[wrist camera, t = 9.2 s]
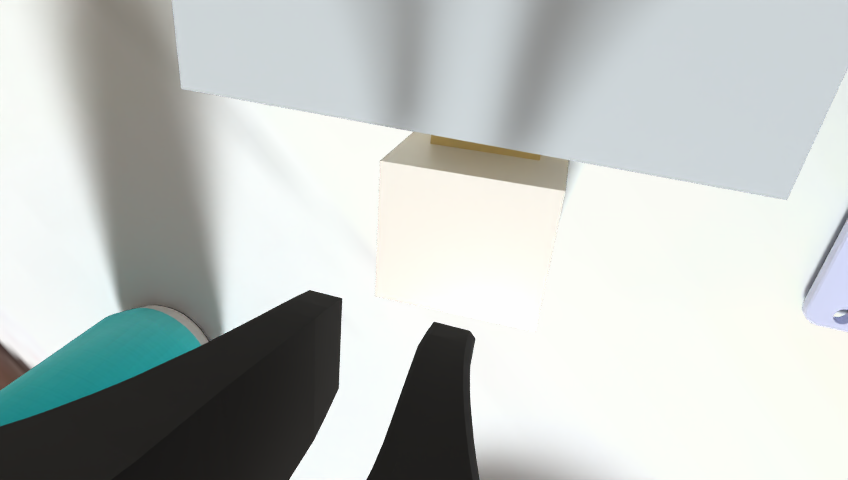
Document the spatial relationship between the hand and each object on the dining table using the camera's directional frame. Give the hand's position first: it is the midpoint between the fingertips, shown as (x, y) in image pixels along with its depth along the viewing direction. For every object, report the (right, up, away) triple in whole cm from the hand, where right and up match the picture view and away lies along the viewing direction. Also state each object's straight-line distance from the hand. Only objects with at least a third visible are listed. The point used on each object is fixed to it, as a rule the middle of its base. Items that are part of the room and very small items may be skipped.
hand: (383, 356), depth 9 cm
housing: (+3, +9, +6) cm, 11 cm away
